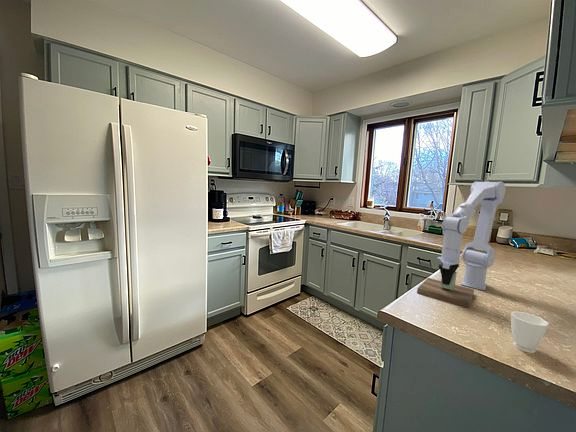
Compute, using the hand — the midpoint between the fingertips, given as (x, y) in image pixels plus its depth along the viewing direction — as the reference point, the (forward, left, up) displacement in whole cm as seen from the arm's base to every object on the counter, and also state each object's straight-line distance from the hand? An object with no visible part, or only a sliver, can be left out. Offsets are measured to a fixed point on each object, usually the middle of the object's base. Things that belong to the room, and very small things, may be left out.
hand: (446, 282), depth 93 cm
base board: (0, 0, -4) cm, 4 cm away
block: (0, 0, -2) cm, 2 cm away
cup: (+22, +21, -5) cm, 31 cm away
